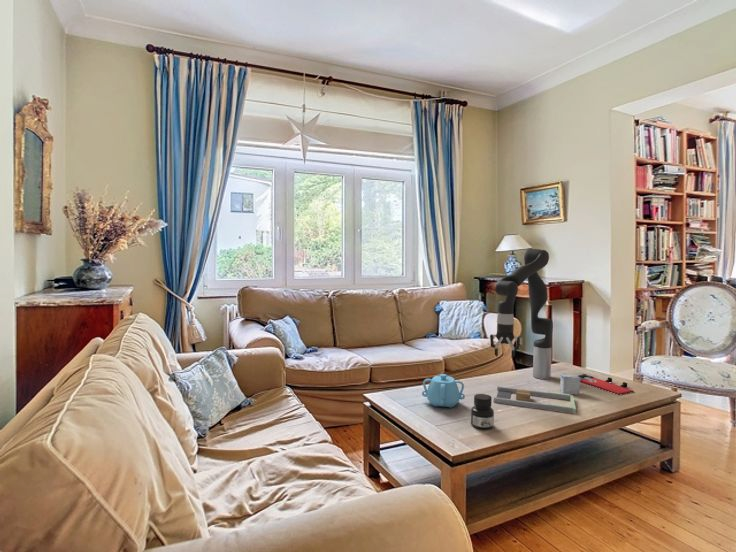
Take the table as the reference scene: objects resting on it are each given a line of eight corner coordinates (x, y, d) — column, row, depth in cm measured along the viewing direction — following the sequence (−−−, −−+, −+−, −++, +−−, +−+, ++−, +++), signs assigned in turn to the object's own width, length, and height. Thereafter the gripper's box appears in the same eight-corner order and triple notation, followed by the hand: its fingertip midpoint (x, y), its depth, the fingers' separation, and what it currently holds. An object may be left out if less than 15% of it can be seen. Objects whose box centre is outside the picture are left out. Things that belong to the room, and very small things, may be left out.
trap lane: (497, 390, 211) (497, 385, 211) (572, 399, 198) (573, 394, 198) (493, 402, 194) (493, 397, 194) (575, 413, 181) (575, 408, 181)
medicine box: (576, 391, 209) (576, 374, 208) (579, 394, 205) (580, 377, 204) (559, 391, 210) (560, 374, 209) (563, 394, 205) (563, 377, 205)
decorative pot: (418, 400, 196) (418, 372, 195) (446, 395, 203) (446, 367, 202) (439, 412, 182) (439, 382, 181) (468, 406, 189) (468, 377, 188)
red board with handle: (586, 375, 238) (567, 378, 232) (587, 370, 237) (567, 373, 232) (638, 392, 210) (618, 396, 204) (638, 386, 210) (618, 391, 204)
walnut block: (516, 397, 202) (517, 389, 201) (530, 398, 199) (530, 390, 199) (516, 401, 196) (516, 392, 196) (529, 403, 194) (529, 394, 194)
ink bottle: (472, 430, 164) (472, 400, 163) (468, 420, 173) (468, 392, 172) (497, 430, 164) (497, 400, 163) (491, 421, 172) (492, 393, 172)
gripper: (521, 322, 200) (520, 356, 201) (490, 320, 205) (489, 353, 206) (520, 324, 193) (520, 360, 194) (488, 322, 198) (488, 357, 199)
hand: (504, 356), depth 200 cm, fingers open, 6 cm apart
